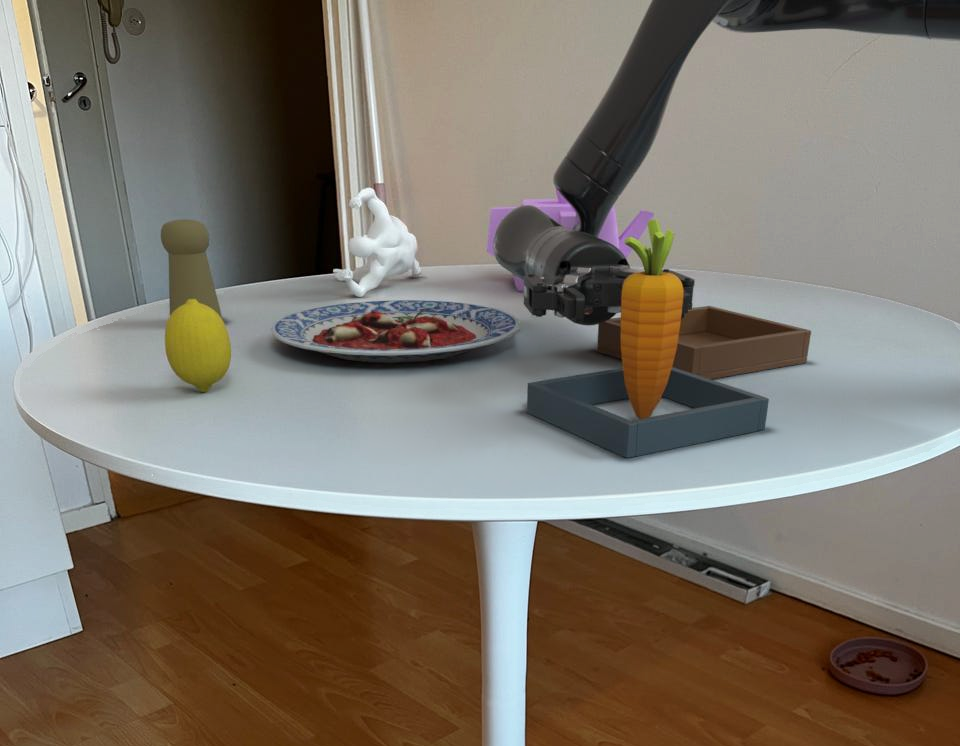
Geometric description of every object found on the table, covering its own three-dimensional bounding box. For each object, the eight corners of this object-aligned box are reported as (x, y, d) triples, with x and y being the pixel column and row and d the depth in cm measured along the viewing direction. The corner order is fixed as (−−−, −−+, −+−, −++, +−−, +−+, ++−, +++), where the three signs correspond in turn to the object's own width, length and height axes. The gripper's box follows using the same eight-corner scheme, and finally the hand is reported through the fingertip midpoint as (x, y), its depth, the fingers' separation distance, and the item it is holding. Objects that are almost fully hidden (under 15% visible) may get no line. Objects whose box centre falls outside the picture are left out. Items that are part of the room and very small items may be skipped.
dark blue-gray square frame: (655, 390, 89) (658, 362, 88) (765, 429, 79) (769, 398, 78) (526, 412, 83) (527, 382, 82) (626, 458, 73) (629, 424, 72)
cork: (185, 330, 112) (170, 225, 107) (160, 322, 116) (144, 220, 111) (233, 323, 116) (221, 220, 110) (207, 315, 120) (194, 215, 114)
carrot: (661, 433, 78) (678, 226, 71) (602, 424, 80) (613, 223, 73) (682, 417, 82) (700, 219, 75) (625, 409, 84) (638, 216, 77)
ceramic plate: (453, 387, 91) (452, 353, 89) (221, 359, 100) (217, 329, 99) (556, 330, 111) (556, 303, 110) (355, 312, 121) (353, 286, 119)
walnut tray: (706, 335, 109) (709, 305, 108) (806, 362, 98) (811, 330, 96) (596, 351, 103) (598, 319, 101) (691, 382, 92) (694, 348, 90)
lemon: (220, 380, 93) (209, 290, 89) (246, 393, 89) (235, 300, 85) (162, 390, 90) (148, 297, 86) (186, 404, 86) (172, 307, 82)
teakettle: (476, 285, 137) (476, 186, 131) (560, 270, 147) (563, 178, 141) (570, 301, 126) (574, 194, 120) (653, 285, 137) (661, 185, 131)
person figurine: (338, 194, 138) (352, 179, 121) (429, 214, 141) (454, 201, 124) (326, 293, 141) (338, 291, 125) (414, 310, 145) (437, 310, 128)
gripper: (506, 236, 93) (547, 262, 79) (654, 231, 95) (719, 256, 81) (506, 319, 96) (545, 358, 82) (648, 313, 98) (710, 350, 84)
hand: (631, 308), depth 82 cm, fingers open, 8 cm apart
